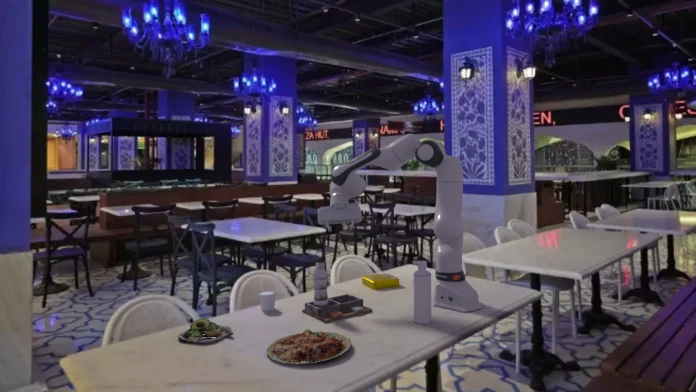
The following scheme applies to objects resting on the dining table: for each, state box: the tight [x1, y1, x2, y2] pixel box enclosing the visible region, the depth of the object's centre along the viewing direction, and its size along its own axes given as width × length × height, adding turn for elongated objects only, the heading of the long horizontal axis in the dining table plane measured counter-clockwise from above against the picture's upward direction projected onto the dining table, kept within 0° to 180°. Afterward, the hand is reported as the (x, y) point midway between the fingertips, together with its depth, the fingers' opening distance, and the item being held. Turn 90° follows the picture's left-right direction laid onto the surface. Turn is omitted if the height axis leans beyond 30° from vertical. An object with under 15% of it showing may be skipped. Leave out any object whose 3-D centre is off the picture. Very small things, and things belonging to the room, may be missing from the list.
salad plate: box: [177, 318, 234, 344], centre depth 173 cm, size 19×18×5 cm
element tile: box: [361, 272, 400, 291], centre depth 240 cm, size 15×15×5 cm
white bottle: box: [413, 260, 432, 325], centre depth 183 cm, size 7×7×25 cm
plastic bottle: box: [312, 261, 329, 308], centre depth 196 cm, size 6×7×20 cm
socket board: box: [301, 293, 373, 324], centre depth 198 cm, size 18×23×4 cm
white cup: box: [258, 290, 276, 312], centre depth 204 cm, size 7×7×7 cm
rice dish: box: [266, 329, 352, 365], centre depth 158 cm, size 28×28×5 cm
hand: (340, 229), depth 213 cm, fingers open, 8 cm apart
